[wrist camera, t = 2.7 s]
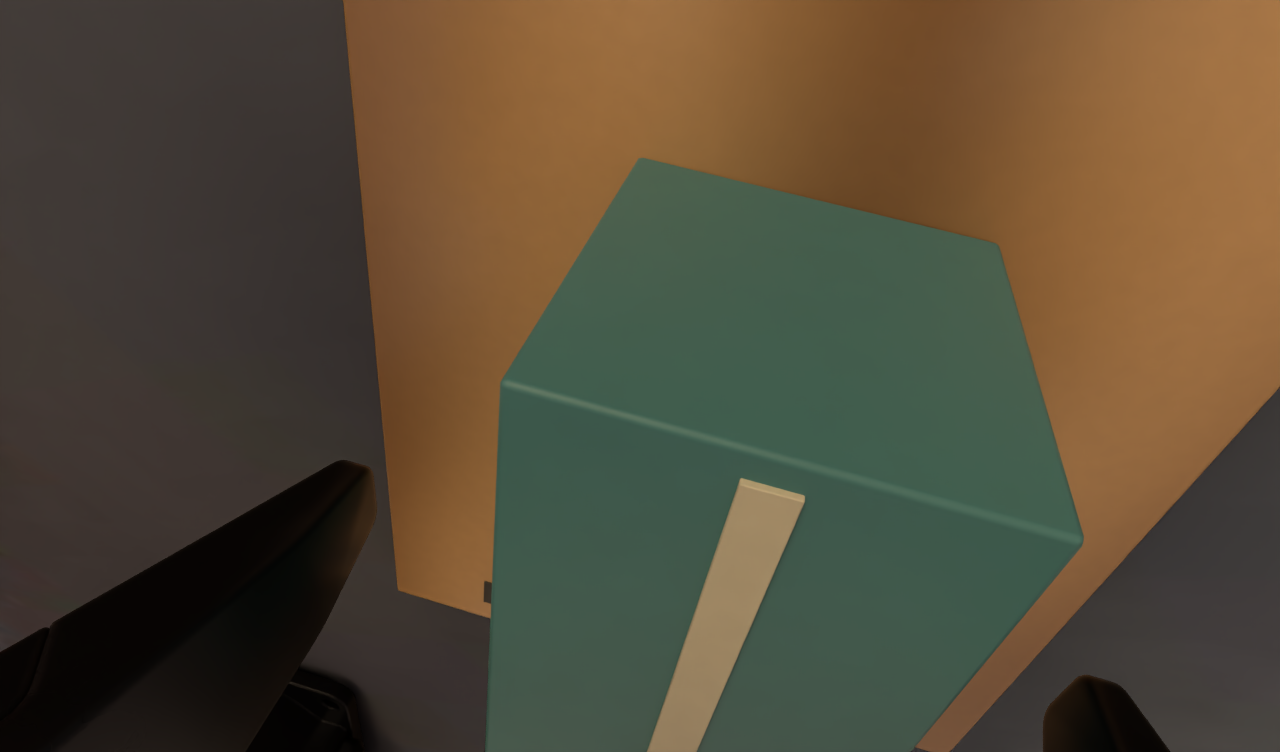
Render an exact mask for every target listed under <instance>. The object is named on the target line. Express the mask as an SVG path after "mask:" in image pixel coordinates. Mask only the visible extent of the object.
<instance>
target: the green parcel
mask: <svg viewBox="0 0 1280 752" xmlns="http://www.w3.org/2000/svg"><path fill="white" fill-rule="evenodd" d="M1083 541H1084V535H1083V532H1082V528H1081V525H1080V521H1079V518H1078V514H1077V511H1076V508H1075V504H1074V501H1073V497H1072V494H1071V490H1070V487H1069V484H1068V480H1067V477H1066V473H1065V470H1064V466H1063V463H1062V460H1061V456H1060V453H1059V449H1058V446H1057V442H1056V439H1055V436H1054V432H1053V429H1052V425H1051V422H1050V418H1049V415H1048V412H1047V408H1046V405H1045V401H1044V398H1043V394H1042V391H1041V388H1040V384H1039V381H1038V377H1037V374H1036V370H1035V367H1034V364H1033V360H1032V357H1031V353H1030V350H1029V346H1028V343H1027V340H1026V336H1025V333H1024V329H1023V326H1022V322H1021V319H1020V316H1019V312H1018V309H1017V305H1016V302H1015V298H1014V295H1013V292H1012V288H1011V285H1010V281H1009V278H1008V274H1007V271H1006V268H1005V264H1004V261H1003V257H1002V254H1001V250H1000V247H999V245H997V244H996V243H992V242H988V241H984V240H980V239H976V238H972V237H968V236H964V235H959V234H955V233H951V232H947V231H943V230H939V229H935V228H931V227H926V226H922V225H918V224H914V223H910V222H906V221H902V220H898V219H893V218H889V217H885V216H881V215H877V214H873V213H869V212H865V211H860V210H856V209H852V208H848V207H844V206H840V205H836V204H832V203H828V202H823V201H819V200H815V199H811V198H807V197H803V196H799V195H795V194H790V193H786V192H782V191H778V190H774V189H770V188H766V187H762V186H757V185H753V184H749V183H745V182H741V181H737V180H733V179H729V178H724V177H720V176H716V175H712V174H708V173H704V172H700V171H696V170H691V169H687V168H683V167H679V166H675V165H671V164H667V163H663V162H658V161H654V160H650V159H646V158H638V160H637V162H636V163H635V165H634V166H633V168H632V170H631V171H630V173H629V174H628V176H627V178H626V179H625V181H624V183H623V184H622V186H621V187H620V189H619V191H618V192H617V194H616V196H615V197H614V199H613V200H612V202H611V204H610V205H609V207H608V208H607V210H606V212H605V213H604V215H603V217H602V218H601V220H600V221H599V223H598V225H597V226H596V228H595V230H594V231H593V233H592V234H591V236H590V238H589V239H588V241H587V242H586V244H585V246H584V247H583V249H582V251H581V252H580V254H579V255H578V257H577V259H576V260H575V262H574V263H573V265H572V267H571V268H570V270H569V272H568V273H567V275H566V276H565V278H564V280H563V281H562V283H561V285H560V286H559V288H558V289H557V291H556V293H555V294H554V296H553V297H552V299H551V301H550V302H549V304H548V306H547V307H546V309H545V310H544V312H543V314H542V315H541V317H540V318H539V320H538V322H537V323H536V325H535V327H534V328H533V330H532V331H531V333H530V335H529V336H528V338H527V340H526V341H525V343H524V344H523V346H522V348H521V349H520V351H519V352H518V354H517V356H516V357H515V359H514V361H513V362H512V364H511V365H510V367H509V369H508V370H507V372H506V374H505V375H504V377H503V378H502V380H501V382H500V398H499V423H498V447H497V472H496V496H495V520H494V545H493V569H492V594H491V618H490V643H489V667H488V691H487V716H486V740H485V752H911V751H912V750H913V749H914V748H915V747H916V745H917V744H918V743H919V742H920V741H921V739H922V738H923V737H924V736H925V735H926V733H927V732H928V731H929V730H930V729H931V727H932V726H933V725H934V724H935V722H936V721H937V720H938V719H939V718H940V716H941V715H942V714H943V713H944V712H945V710H946V709H947V708H948V707H949V706H950V704H951V703H952V702H953V701H954V700H955V698H956V697H957V696H958V695H959V694H960V692H961V691H962V690H963V689H964V688H965V686H966V685H967V684H968V683H969V682H970V680H971V679H972V678H973V677H974V676H975V674H976V673H977V672H978V671H979V670H980V668H981V667H982V666H983V665H984V664H985V662H986V661H987V660H988V659H989V658H990V656H991V655H992V654H993V653H994V652H995V650H996V649H997V648H998V647H999V646H1000V644H1001V643H1002V642H1003V641H1004V640H1005V638H1006V637H1007V636H1008V635H1009V634H1010V632H1011V631H1012V630H1013V629H1014V628H1015V626H1016V625H1017V624H1018V623H1019V622H1020V620H1021V619H1022V618H1023V617H1024V616H1025V614H1026V613H1027V612H1028V611H1029V609H1030V608H1031V607H1032V606H1033V605H1034V603H1035V602H1036V601H1037V600H1038V599H1039V597H1040V596H1041V595H1042V594H1043V593H1044V591H1045V590H1046V589H1047V588H1048V587H1049V585H1050V584H1051V583H1052V582H1053V581H1054V579H1055V578H1056V577H1057V576H1058V575H1059V573H1060V572H1061V571H1062V570H1063V569H1064V567H1065V566H1066V565H1067V564H1068V563H1069V561H1070V560H1071V559H1072V558H1073V557H1074V555H1075V554H1076V553H1077V552H1078V551H1079V549H1080V548H1081V547H1082V545H1083Z"/></svg>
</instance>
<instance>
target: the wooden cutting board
mask: <svg viewBox="0 0 1280 752" xmlns="http://www.w3.org/2000/svg"><path fill="white" fill-rule="evenodd" d="M343 4H344V15H345V26H346V37H347V47H348V58H349V69H350V80H351V91H352V101H353V112H354V123H355V134H356V144H357V155H358V166H359V177H360V187H361V198H362V209H363V220H364V230H365V241H366V252H367V263H368V274H369V284H370V295H371V306H372V317H373V327H374V338H375V349H376V360H377V370H378V381H379V392H380V403H381V414H382V424H383V435H384V446H385V457H386V467H387V478H388V489H389V500H390V510H391V521H392V532H393V543H394V553H395V564H396V575H397V586H398V590H399V591H401V592H405V593H408V594H411V595H415V596H418V597H421V598H425V599H428V600H431V601H434V602H438V603H441V604H444V605H448V606H451V607H454V608H458V609H461V610H464V611H467V612H471V613H474V614H477V615H481V616H484V617H487V618H491V594H492V569H493V545H494V520H495V496H496V472H497V447H498V423H499V398H500V382H501V380H502V378H503V377H504V375H505V374H506V372H507V370H508V369H509V367H510V365H511V364H512V362H513V361H514V359H515V357H516V356H517V354H518V352H519V351H520V349H521V348H522V346H523V344H524V343H525V341H526V340H527V338H528V336H529V335H530V333H531V331H532V330H533V328H534V327H535V325H536V323H537V322H538V320H539V318H540V317H541V315H542V314H543V312H544V310H545V309H546V307H547V306H548V304H549V302H550V301H551V299H552V297H553V296H554V294H555V293H556V291H557V289H558V288H559V286H560V285H561V283H562V281H563V280H564V278H565V276H566V275H567V273H568V272H569V270H570V268H571V267H572V265H573V263H574V262H575V260H576V259H577V257H578V255H579V254H580V252H581V251H582V249H583V247H584V246H585V244H586V242H587V241H588V239H589V238H590V236H591V234H592V233H593V231H594V230H595V228H596V226H597V225H598V223H599V221H600V220H601V218H602V217H603V215H604V213H605V212H606V210H607V208H608V207H609V205H610V204H611V202H612V200H613V199H614V197H615V196H616V194H617V192H618V191H619V189H620V187H621V186H622V184H623V183H624V181H625V179H626V178H627V176H628V174H629V173H630V171H631V170H632V168H633V166H634V165H635V163H636V162H637V160H638V158H646V159H650V160H654V161H658V162H663V163H667V164H671V165H675V166H679V167H683V168H687V169H691V170H696V171H700V172H704V173H708V174H712V175H716V176H720V177H724V178H729V179H733V180H737V181H741V182H745V183H749V184H753V185H757V186H762V187H766V188H770V189H774V190H778V191H782V192H786V193H790V194H795V195H799V196H803V197H807V198H811V199H815V200H819V201H823V202H828V203H832V204H836V205H840V206H844V207H848V208H852V209H856V210H860V211H865V212H869V213H873V214H877V215H881V216H885V217H889V218H893V219H898V220H902V221H906V222H910V223H914V224H918V225H922V226H926V227H931V228H935V229H939V230H943V231H947V232H951V233H955V234H959V235H964V236H968V237H972V238H976V239H980V240H984V241H988V242H992V243H996V244H997V245H999V247H1000V250H1001V254H1002V257H1003V261H1004V264H1005V268H1006V271H1007V274H1008V278H1009V281H1010V285H1011V288H1012V292H1013V295H1014V298H1015V302H1016V305H1017V309H1018V312H1019V316H1020V319H1021V322H1022V326H1023V329H1024V333H1025V336H1026V340H1027V343H1028V346H1029V350H1030V353H1031V357H1032V360H1033V364H1034V367H1035V370H1036V374H1037V377H1038V381H1039V384H1040V388H1041V391H1042V394H1043V398H1044V401H1045V405H1046V408H1047V412H1048V415H1049V418H1050V422H1051V425H1052V429H1053V432H1054V436H1055V439H1056V442H1057V446H1058V449H1059V453H1060V456H1061V460H1062V463H1063V466H1064V470H1065V473H1066V477H1067V480H1068V484H1069V487H1070V490H1071V494H1072V497H1073V501H1074V504H1075V508H1076V511H1077V514H1078V518H1079V521H1080V525H1081V528H1082V532H1083V535H1084V541H1083V545H1082V547H1081V548H1080V549H1079V551H1078V552H1077V553H1076V554H1075V555H1074V557H1073V558H1072V559H1071V560H1070V561H1069V563H1068V564H1067V565H1066V566H1065V567H1064V569H1063V570H1062V571H1061V572H1060V573H1059V575H1058V576H1057V577H1056V578H1055V579H1054V581H1053V582H1052V583H1051V584H1050V585H1049V587H1048V588H1047V589H1046V590H1045V591H1044V593H1043V594H1042V595H1041V596H1040V597H1039V599H1038V600H1037V601H1036V602H1035V603H1034V605H1033V606H1032V607H1031V608H1030V609H1029V611H1028V612H1027V613H1026V614H1025V616H1024V617H1023V618H1022V619H1021V620H1020V622H1019V623H1018V624H1017V625H1016V626H1015V628H1014V629H1013V630H1012V631H1011V632H1010V634H1009V635H1008V636H1007V637H1006V638H1005V640H1004V641H1003V642H1002V643H1001V644H1000V646H999V647H998V648H997V649H996V650H995V652H994V653H993V654H992V655H991V656H990V658H989V659H988V660H987V661H986V662H985V664H984V665H983V666H982V667H981V668H980V670H979V671H978V672H977V673H976V674H975V676H974V677H973V678H972V679H971V680H970V682H969V683H968V684H967V685H966V686H965V688H964V689H963V690H962V691H961V692H960V694H959V695H958V696H957V697H956V698H955V700H954V701H953V702H952V703H951V704H950V706H949V707H948V708H947V709H946V710H945V712H944V713H943V714H942V715H941V716H940V718H939V719H938V720H937V721H936V722H935V724H934V725H933V726H932V727H931V729H930V730H929V731H928V732H927V733H926V735H925V736H924V737H923V738H922V739H921V741H920V742H919V743H918V744H917V745H916V748H920V749H923V750H926V751H929V752H950V751H951V750H952V749H953V748H954V747H955V746H956V745H957V744H958V742H959V741H960V740H961V739H962V738H963V737H964V736H965V735H966V734H967V732H968V731H969V730H970V729H971V728H972V727H973V726H974V725H975V724H976V723H977V721H978V720H979V719H980V718H981V717H982V716H983V715H984V714H985V713H986V711H987V710H988V709H989V708H990V707H991V706H992V705H993V704H994V703H995V701H996V700H997V699H998V698H999V697H1000V696H1001V695H1002V694H1003V693H1004V692H1005V690H1006V689H1007V688H1008V687H1009V686H1010V685H1011V684H1012V683H1013V682H1014V680H1015V679H1016V678H1017V677H1018V676H1019V675H1020V674H1021V673H1022V672H1023V671H1024V669H1025V668H1026V667H1027V666H1028V665H1029V664H1030V663H1031V662H1032V661H1033V659H1034V658H1035V657H1036V656H1037V655H1038V654H1039V653H1040V652H1041V651H1042V650H1043V648H1044V647H1045V646H1046V645H1047V644H1048V643H1049V642H1050V641H1051V640H1052V638H1053V637H1054V636H1055V635H1056V634H1057V633H1058V632H1059V631H1060V630H1061V628H1062V627H1063V626H1064V625H1065V624H1066V623H1067V622H1068V621H1069V620H1070V619H1071V617H1072V616H1073V615H1074V614H1075V613H1076V612H1077V611H1078V610H1079V609H1080V607H1081V606H1082V605H1083V604H1084V603H1085V602H1086V601H1087V600H1088V599H1089V598H1090V596H1091V595H1092V594H1093V593H1094V592H1095V591H1096V590H1097V589H1098V588H1099V586H1100V585H1101V584H1102V583H1103V582H1104V581H1105V580H1106V579H1107V578H1108V577H1109V575H1110V574H1111V573H1112V572H1113V571H1114V570H1115V569H1116V568H1117V567H1118V565H1119V564H1120V563H1121V562H1122V561H1123V560H1124V559H1125V558H1126V557H1127V555H1128V554H1129V553H1130V552H1131V551H1132V550H1133V549H1134V548H1135V547H1136V546H1137V544H1138V543H1139V542H1140V541H1141V540H1142V539H1143V538H1144V537H1145V536H1146V534H1147V533H1148V532H1149V531H1150V530H1151V529H1152V528H1153V527H1154V526H1155V525H1156V523H1157V522H1158V521H1159V520H1160V519H1161V518H1162V517H1163V516H1164V515H1165V513H1166V512H1167V511H1168V510H1169V509H1170V508H1171V507H1172V506H1173V505H1174V504H1175V502H1176V501H1177V500H1178V499H1179V498H1180V497H1181V496H1182V495H1183V494H1184V492H1185V491H1186V490H1187V489H1188V488H1189V487H1190V486H1191V485H1192V484H1193V482H1194V481H1195V480H1196V479H1197V478H1198V477H1199V476H1200V475H1201V474H1202V473H1203V471H1204V470H1205V469H1206V468H1207V467H1208V466H1209V465H1210V464H1211V463H1212V461H1213V460H1214V459H1215V458H1216V457H1217V456H1218V455H1219V454H1220V453H1221V452H1222V450H1223V449H1224V448H1225V447H1226V446H1227V445H1228V444H1229V443H1230V442H1231V440H1232V439H1233V438H1234V437H1235V436H1236V435H1237V434H1238V433H1239V432H1240V431H1241V429H1242V428H1243V427H1244V426H1245V425H1246V424H1247V423H1248V422H1249V421H1250V419H1251V418H1252V417H1253V416H1254V415H1255V414H1256V413H1257V412H1258V411H1259V409H1260V408H1261V407H1262V406H1263V405H1264V404H1265V403H1266V402H1267V401H1268V400H1269V398H1270V397H1271V396H1272V395H1273V394H1274V393H1275V392H1276V391H1277V390H1278V388H1279V387H1280V0H343Z"/></svg>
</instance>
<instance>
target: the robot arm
mask: <svg viewBox="0 0 1280 752" xmlns="http://www.w3.org/2000/svg"><path fill="white" fill-rule="evenodd" d="M376 513H377V503H376V494H375V485H374V476H373V472H372V470H371V469H370V468H369V467H367V466H365V465H361V464H358V463H354V462H351V461H347V460H340V461H336V462H334V463H332V464H330V465H329V466H327V467H325V468H323V469H322V470H320V471H318V472H316V473H315V474H313V475H311V476H309V477H308V478H306V479H304V480H302V481H301V482H299V483H297V484H295V485H294V486H292V487H290V488H288V489H287V490H285V491H283V492H281V493H280V494H278V495H276V496H274V497H272V498H271V499H269V500H267V501H265V502H264V503H262V504H260V505H258V506H257V507H255V508H253V509H251V510H250V511H248V512H246V513H244V514H243V515H241V516H239V517H237V518H236V519H234V520H232V521H230V522H229V523H227V524H225V525H223V526H222V527H220V528H218V529H216V530H215V531H213V532H211V533H209V534H208V535H206V536H204V537H202V538H200V539H199V540H197V541H195V542H193V543H192V544H190V545H188V546H186V547H185V548H183V549H181V550H179V551H178V552H176V553H174V554H172V555H171V556H169V557H167V558H165V559H164V560H162V561H160V562H158V563H157V564H155V565H153V566H151V567H150V568H148V569H146V570H144V571H143V572H141V573H139V574H137V575H135V576H134V577H132V578H130V579H128V580H127V581H125V582H123V583H121V584H120V585H118V586H116V587H114V588H113V589H111V590H109V591H107V592H106V593H104V594H102V595H100V596H99V597H97V598H95V599H93V600H92V601H90V602H88V603H86V604H85V605H83V606H81V607H79V608H78V609H76V610H74V611H72V612H71V613H69V614H67V615H65V616H63V617H62V618H60V619H58V620H56V621H55V622H53V623H52V624H51V626H50V629H49V628H46V627H45V628H42V629H40V630H38V631H37V632H35V633H33V634H31V635H30V636H28V637H26V638H24V639H23V640H21V641H19V642H17V643H16V644H14V645H12V646H10V647H9V648H7V649H5V650H3V651H1V652H0V752H365V749H364V743H363V738H362V732H361V727H360V721H359V716H358V710H357V705H356V699H355V696H354V694H353V692H352V691H351V690H350V689H348V688H347V687H345V686H344V685H342V684H339V683H337V682H334V681H331V680H328V679H324V678H321V677H318V676H315V675H312V674H309V673H305V672H302V671H299V670H297V669H298V668H299V666H300V664H301V663H302V661H303V660H304V658H305V656H306V655H307V653H308V652H309V650H310V648H311V647H312V645H313V644H314V642H315V640H316V639H317V637H318V635H319V633H320V632H321V630H322V628H323V626H324V624H325V623H326V621H327V619H328V617H329V615H330V613H331V611H332V609H333V607H334V605H335V603H336V600H337V598H338V596H339V594H340V592H341V590H342V588H343V586H344V584H345V582H346V580H347V578H348V576H349V574H350V572H351V570H352V568H353V566H354V563H355V561H356V559H357V557H358V555H359V553H360V551H361V549H362V547H363V545H364V543H365V541H366V539H367V537H368V535H369V533H370V531H371V528H372V526H373V524H374V521H375V518H376ZM1043 752H1170V750H1169V749H1168V748H1167V746H1166V745H1165V744H1164V742H1163V741H1162V740H1161V738H1160V737H1159V735H1158V734H1157V733H1156V731H1155V730H1154V729H1153V727H1152V726H1151V725H1150V723H1149V722H1148V720H1147V719H1146V718H1145V716H1144V715H1143V714H1142V712H1141V711H1140V710H1139V708H1138V707H1137V705H1136V704H1135V703H1134V701H1133V700H1132V699H1131V697H1130V696H1129V695H1128V693H1127V692H1126V691H1125V690H1124V689H1123V688H1122V687H1121V686H1119V685H1118V684H1116V683H1114V682H1111V681H1107V680H1104V679H1100V678H1097V677H1094V676H1090V675H1082V676H1079V677H1077V678H1076V679H1075V680H1074V681H1073V682H1072V683H1071V684H1070V685H1069V686H1068V687H1067V688H1066V689H1065V690H1064V691H1063V692H1062V693H1061V694H1060V695H1059V696H1058V697H1057V698H1056V699H1055V700H1054V701H1053V702H1052V703H1051V704H1050V705H1049V707H1048V708H1047V710H1046V713H1045V716H1044V721H1043Z"/></svg>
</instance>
